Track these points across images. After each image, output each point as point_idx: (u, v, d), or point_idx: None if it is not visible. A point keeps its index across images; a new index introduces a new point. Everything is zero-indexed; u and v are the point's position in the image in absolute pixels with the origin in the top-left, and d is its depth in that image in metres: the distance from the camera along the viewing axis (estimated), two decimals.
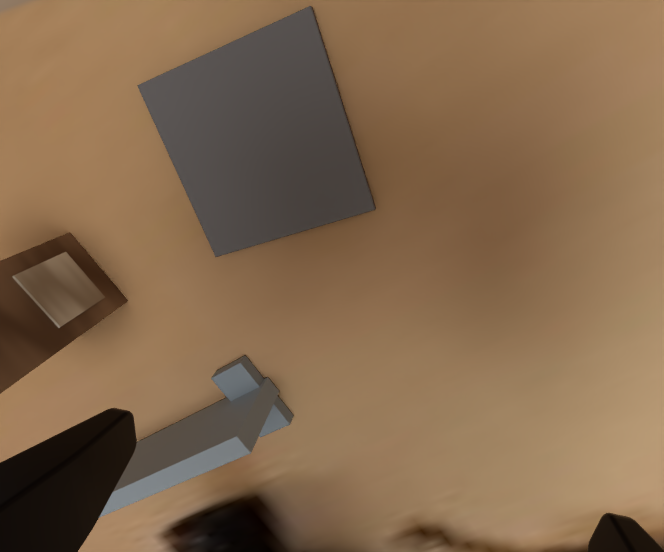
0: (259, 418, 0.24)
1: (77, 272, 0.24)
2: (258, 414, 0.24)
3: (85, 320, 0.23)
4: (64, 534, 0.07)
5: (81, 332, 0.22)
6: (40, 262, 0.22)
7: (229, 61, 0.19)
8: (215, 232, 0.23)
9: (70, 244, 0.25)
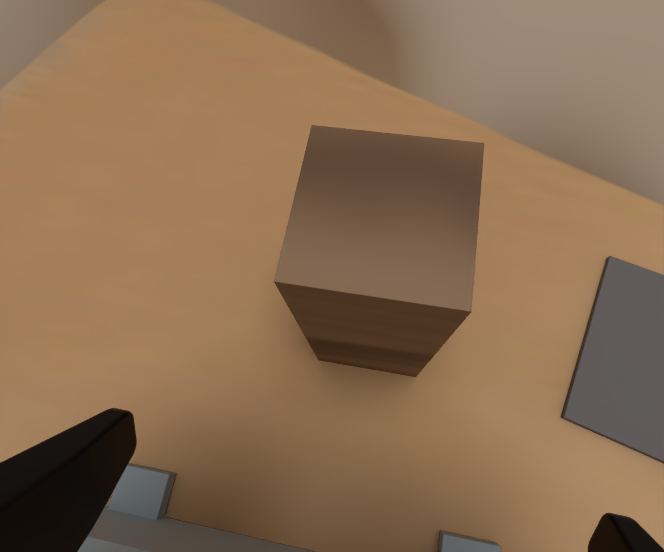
0: None
1: None
2: None
3: None
4: (64, 534, 0.07)
5: (426, 362, 0.18)
6: None
7: None
8: (583, 397, 0.21)
9: None
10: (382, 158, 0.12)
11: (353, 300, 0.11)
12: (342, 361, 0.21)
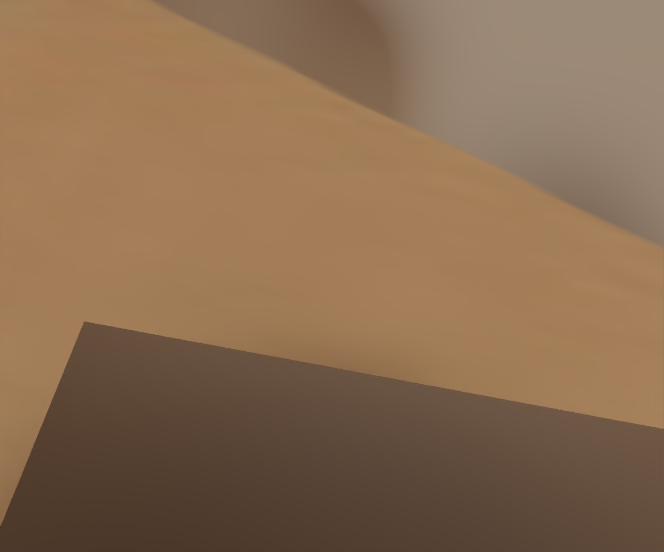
0: None
1: None
2: None
3: None
4: None
5: None
6: None
7: None
8: None
9: None
10: (301, 480, 0.03)
11: None
12: None
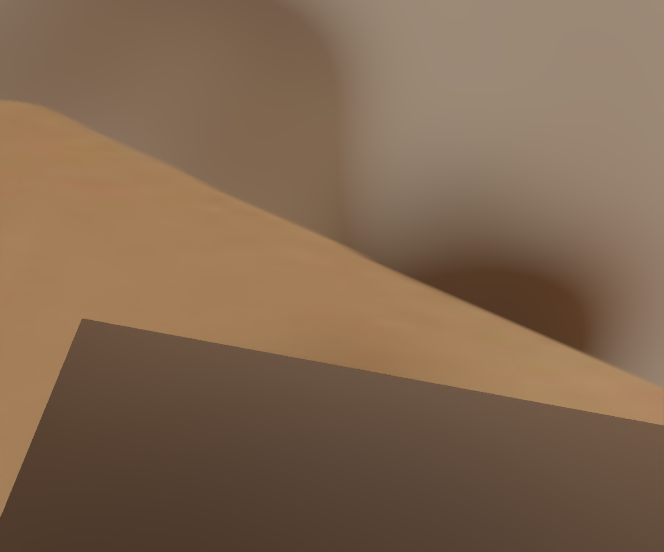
0: None
1: None
2: None
3: None
4: None
5: None
6: None
7: None
8: None
9: None
10: (297, 475, 0.03)
11: None
12: None
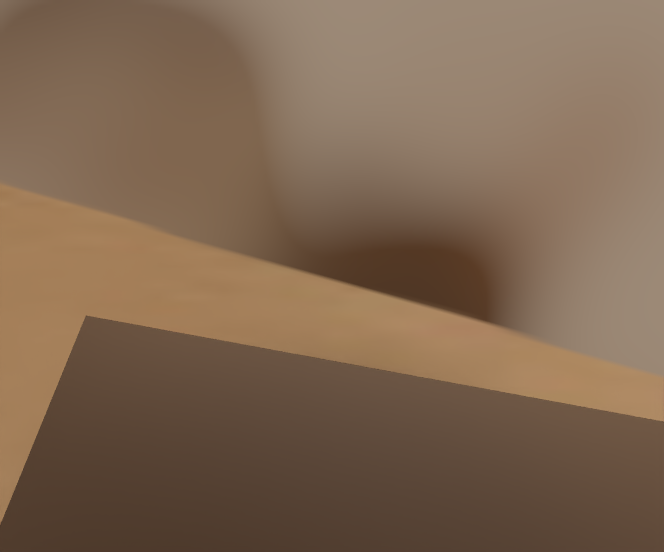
0: None
1: None
2: None
3: None
4: None
5: None
6: None
7: None
8: None
9: None
10: (302, 472, 0.03)
11: None
12: None
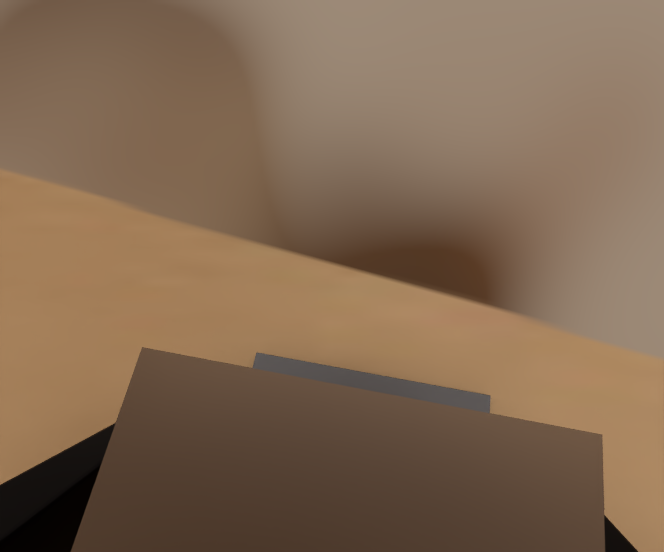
0: None
1: None
2: None
3: None
4: None
5: None
6: None
7: None
8: None
9: None
10: (315, 471, 0.04)
11: None
12: None
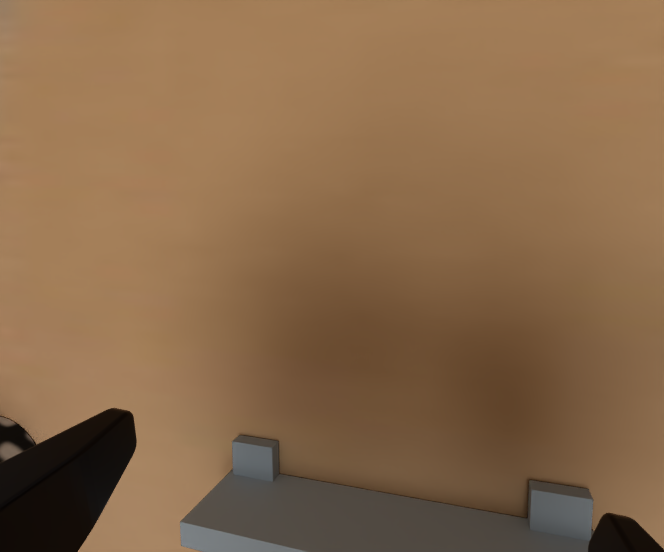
0: None
1: None
2: None
3: None
4: (64, 534, 0.07)
5: None
6: None
7: None
8: None
9: None
10: None
11: None
12: None
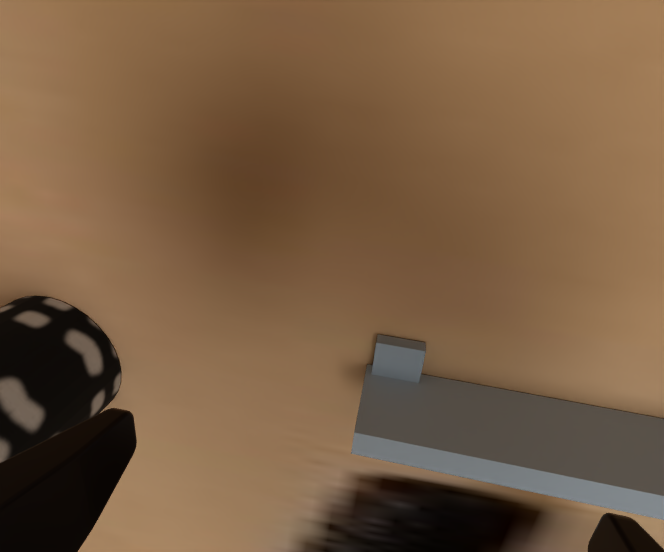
0: None
1: None
2: None
3: None
4: (64, 534, 0.07)
5: None
6: None
7: None
8: None
9: None
10: None
11: None
12: None
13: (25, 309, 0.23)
